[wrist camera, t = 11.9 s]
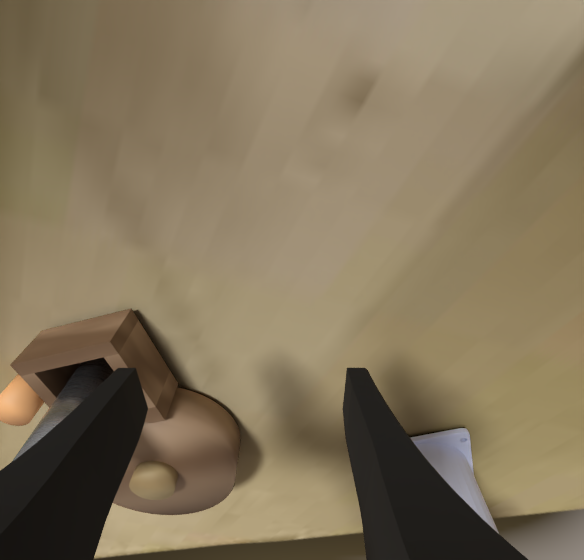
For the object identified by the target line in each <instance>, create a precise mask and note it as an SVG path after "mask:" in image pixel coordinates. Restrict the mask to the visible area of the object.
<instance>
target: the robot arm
mask: <svg viewBox="0 0 584 560" xmlns="http://www.w3.org/2000/svg"><path fill="white" fill-rule="evenodd" d="M147 411H148V406H147V403H146V400H145V396H144V393H143V390H142V386H141V383H140V380H139V377H138V373H137V370H136V368H117V369H116V370H115V371H114V372H113V373H112V374H111V375H110V376H109V377H108V378H107V379H106V380H105V381H104V382H103V383H101V384H100V385H99V386H98V387H97V388H96V389H95V390H94V391H93V392H92V393H91V394H90V395H89V396H88V397H87V398H86V399H85V400H84V401H83V402H82V403H81V404H79V405H78V406H77V407H76V408H75V409H74V410H73V411H72V412H71V413H70V414H69V415H68V416H66V417H65V418H64V419H63V420H62V421H61V422H60V423H59V424H57V425H56V426H55V427H54V428H53V429H52V430H51V431H49V432H48V433H47V434H46V435H45V436H44V437H42V438H41V439H40V440H39V441H38V442H37V443H35V444H34V445H33V446H32V447H31V448H29V449H28V450H27V451H26V452H24V453H23V454H22V455H21V456H19V457H18V458H17V459H15V460H14V461H13V462H11V463H10V464H9V465H7V466H6V467H5V468H3V469H2V470H1V471H0V560H93V559H94V555H95V552H96V549H97V546H98V543H99V540H100V537H101V534H102V530H103V527H104V524H105V521H106V518H107V516H108V513H109V511H110V508H111V505H112V503H113V501H114V498H115V496H116V494H117V491H118V489H119V487H120V484H121V482H122V479H123V477H124V475H125V472H126V470H127V468H128V465H129V463H130V461H131V458H132V456H133V453H134V451H135V449H136V446H137V444H138V441H139V439H140V436H141V432H142V429H143V426H144V422H145V419H146V415H147ZM343 416H344V426H345V436H346V442H347V447H348V452H349V457H350V462H351V467H352V472H353V476H354V481H355V486H356V491H357V496H358V501H359V506H360V511H361V517H362V524H363V533H364V541H365V549H366V558H367V560H528V559H527V558H526V557H525V556H523V555H522V554H521V553H520V552H519V551H517V550H516V549H515V548H514V547H513V546H511V544H509V543H508V542H507V541H506V540H505V539H504V538H503V537H502V536H500V535H499V532H498V530H497V528H496V525H495V523H494V521H493V518H492V516H491V514H490V512H489V509H488V507H487V505H486V502H485V500H484V498H483V495H482V493H481V491H480V489H479V486H478V484H477V482H476V479H475V477H474V472H473V462H472V453H471V443H470V434H469V432H468V430H467V429H466V428H458V429H453V430H447V431H442V432H437V433H431V434H426V435H421V436H416V437H409V436H408V434H407V433H406V432H405V430H404V429H403V428H402V426H401V425H400V423H399V422H398V420H397V419H396V417H395V416H394V414H393V413H392V411H391V410H390V408H389V407H388V405H387V404H386V402H385V400H384V399H383V397H382V395H381V394H380V392H379V390H378V389H377V387H376V385H375V383H374V381H373V380H372V378H371V376H370V374H369V372H368V370H367V369H366V368H347V373H346V383H345V393H344V402H343Z"/></svg>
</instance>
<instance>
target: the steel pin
mask: <svg viewBox="0 0 584 560" xmlns="http://www.w3.org/2000/svg"><path fill="white" fill-rule="evenodd" d="M113 372H114V371H113V369H112V368H111V367H110V365H109V364H108V362H107V361H106V360H105V358H104V357H103V358H98V359H94V360H90V361H85V362H81V364H80V365H79V366H78V368H77V369H76V371H75V372H74V374H73V375H72V376H71V378H70V379H69V381H68V382H67V384H66V385H65V386H64V388H63V389H62V391H61V392H60V394H59V395H58V397H57V398H56V399H55V401H54V402H53V404H52V405H51V407H50V408H49V409H48V411H47V412H46V414H45V415H44V417H43V418H42V419H41V421H40V422H39V424H38V425H37V427H36V428H35V429H34V431H33V432H32V434H31V435H30V437H29V438H28V440H27V441H26V442H25V444H24V445H23V447H22V448H21V450H20V451H19V452H18V454H17V455H16V457H15V458H14V460H15V459H17V458H18V457H19V456H21V455H22V454H23V453H24V452H26V451H27V450H28V449H29V448H31V447H32V446H33V445H34V444H35V443H37V442H38V441H39V440H40V439H41V438H42V437H44V436H45V435H46V434H47V433H48V432H49V431H51V430H52V429H53V428H54V427H55V426H56V425H57V424H59V423H60V422H61V421H62V420H63V419H64V418H65V417H66V416H68V415H69V414H70V413H71V412H72V411H73V410H74V409H75V408H76V407H77V406H78V405H79V404H81V403H82V402H83V401H84V400H85V399H86V398H87V397H88V396H89V395H90V394H91V393H92V392H93V391H94V390H95V389H96V388H97V387H98V386H99V385H100V384H101V383H103V382H104V381H105V380H106V379H107V378H108V377H109V376H110V375H111V374H112V373H113ZM14 460H13V461H14ZM13 461H12V462H13Z"/></svg>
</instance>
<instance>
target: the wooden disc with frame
mask: <svg viewBox="0 0 584 560" xmlns="http://www.w3.org/2000/svg"><path fill="white" fill-rule="evenodd" d="M103 357H104V358H105V360H106V361H107V362H108V364H109V365H110V367H111V368H112V369H113V371H115V370H116V369H117V368H136V370H137V373H138V377H139V380H140V383H141V386H142V390H143V393H144V396H145V400H146V403H147V406H148V411H147V415H146V419H145V422H144V426H143V429H142V432H141V436H140V439H139V441H138V444H137V446H136V449H135V451H134V453H133V456H132V458H131V461H130V463H129V465H128V468H127V470H126V472H125V475H124V477H123V479H122V482H121V484H120V487H119V489H118V491H117V494H116V496H115V498H114V501H113V503H115V504H117V505H120V506H122V507H125V508H128V509H132V510H135V511H140V512H145V513H151V514H160V515H181V514H189V513H195V512H199V511H202V510H206V509H208V508H211V507H213V506H215V505H217V504H219V503H220V502H221V501H223V500H224V499H225V498H226V497H227V496H228V495H229V494H230V492H231V491H232V489H233V487H234V484H235V478H236V471H237V464H238V456H239V449H240V442H241V439H240V432H239V428H238V426H237V424H236V422H235V421H234V419H233V418H232V416H231V415H230V414H229V413H228V412H227V411H226V410H225V409H224V408H222V407H221V406H220V405H219V404H217V403H216V402H214V401H212V400H211V399H209V398H207V397H205V396H203V395H200V394H198V393H196V392H192V391H189V390H186V389H182V388H177V386H178V383H177V381H176V379H175V378H174V376H173V375H172V373H171V371H170V370H169V368H168V367H167V365H166V363H165V362H164V360H163V359H162V357H161V355H160V354H159V352H158V351H157V349H156V347H155V346H154V344H153V343H152V341H151V339H150V338H149V336H148V335H147V333H146V331H145V330H144V328H143V327H142V325H141V323H140V322H139V320H138V319H137V317H136V315H135V314H134V312H133V311H132V309H128V310H124V311H120V312H115V313H111V314H107V315H103V316H99V317H95V318H91V319H87V320H83V321H79V322H75V323H71V324H67V325H63V326H59V327H54V328H50V329H46V330H42V331H41V332H40V333H39V334H38V335H37V336H36V338H35V339H34V340H33V341H32V342H31V343H30V344H29V345H28V346H27V347H26V348H25V349H24V351H23V352H22V353H21V354H20V355H19V356H18V357H17V358H16V359H15V360H14V361H13V362H12V363H11V366H12V368H13V369H14V370H15V371H16V372H17V373H18V374H19V375H20V376H21V377H22V378H23V379H24V381H25V382H26V383H27V384H28V385H29V386H30V387H31V388H32V389H33V390H34V391H35V392H36V394H37V395H38V396H39V397H40V398H41V399H42V400H43V401H44V402H45V403H46V404H47V405H48V406H49V408H50V407H51V405H52V404H53V402H54V401H55V399H56V398H57V397H58V395H59V394H60V392H61V391H62V389H63V388H64V386H65V385H66V384H67V382H68V381H69V379H70V378H71V376H72V375H73V374H74V372H75V371H76V369H77V368H78V366H79V365H80V364H81V362H85V361H90V360H94V359H98V358H103Z"/></svg>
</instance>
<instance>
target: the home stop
mask: <svg viewBox="0 0 584 560" xmlns="http://www.w3.org/2000/svg"><path fill="white" fill-rule="evenodd" d="M43 403H44V401H43V400H42V399H41V398H40V397H39V396H38V395H37V394H36V392H35V391H34V390H33V389H32V388H31V387H30V386H29V385H28V384H27V383H26V382H25V381H24V379H23V378H22V377H21V376H20V375H19V374H18V375H17V376H16V377H15V378H14V379H13V381H12V382H11V383H10V384H9V385H8V386H7V387H6V389H5V390H4V391H3V392H2V393H1V394H0V421H2V422H4V423H7V424H10V425H15V426H22V425H26V424H28V423H29V422H30V421H31V420H32V418H33V417H34V416H35V414H36V413H37V412H38V410H39V409H40V407H41V406H42V405H43Z"/></svg>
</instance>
